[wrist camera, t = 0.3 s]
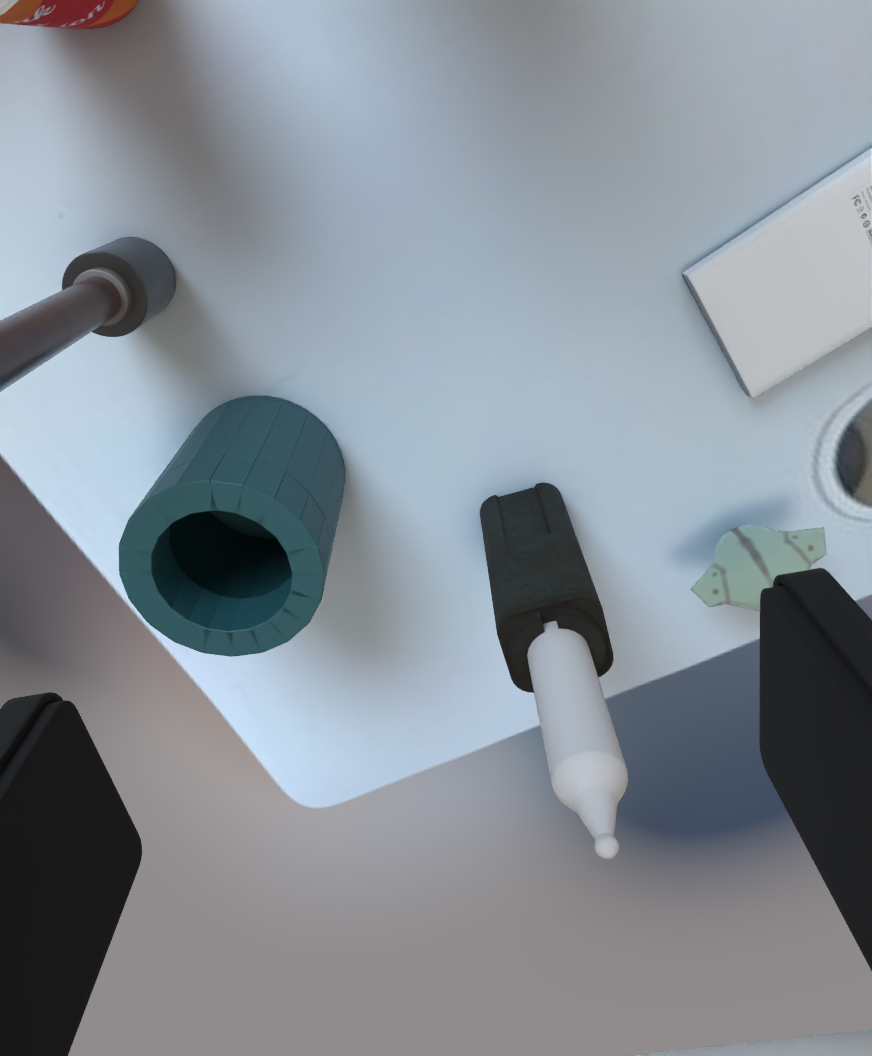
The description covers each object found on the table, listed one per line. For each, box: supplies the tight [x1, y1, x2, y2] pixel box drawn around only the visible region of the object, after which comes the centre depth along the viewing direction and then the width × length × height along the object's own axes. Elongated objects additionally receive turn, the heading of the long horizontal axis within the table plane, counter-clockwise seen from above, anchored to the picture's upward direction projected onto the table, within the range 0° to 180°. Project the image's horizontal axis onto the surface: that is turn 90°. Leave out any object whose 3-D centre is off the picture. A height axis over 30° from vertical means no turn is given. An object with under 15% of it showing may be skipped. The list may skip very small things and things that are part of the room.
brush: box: [0, 237, 176, 392], centre depth 34 cm, size 4×4×19 cm
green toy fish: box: [691, 524, 826, 611], centre depth 47 cm, size 8×4×7 cm, turn 120°
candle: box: [480, 483, 628, 859], centre depth 39 cm, size 5×5×25 cm
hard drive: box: [682, 147, 872, 399], centre depth 42 cm, size 2×8×12 cm
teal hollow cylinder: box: [119, 396, 345, 656], centre depth 42 cm, size 9×9×12 cm
